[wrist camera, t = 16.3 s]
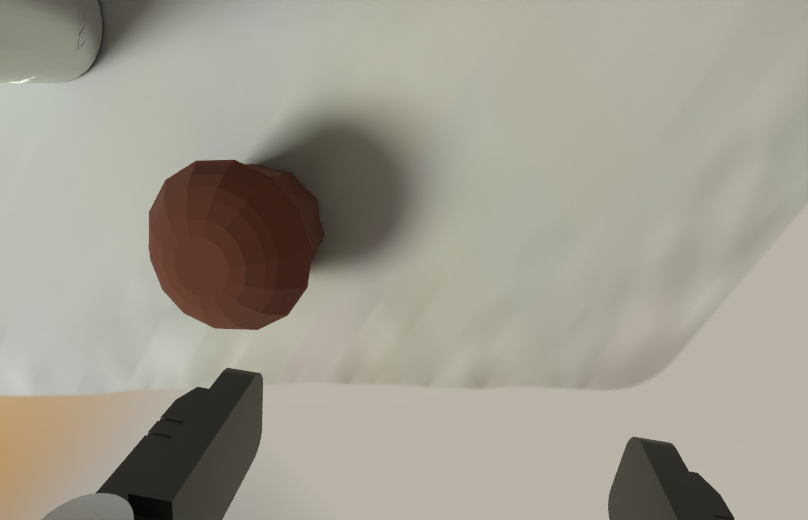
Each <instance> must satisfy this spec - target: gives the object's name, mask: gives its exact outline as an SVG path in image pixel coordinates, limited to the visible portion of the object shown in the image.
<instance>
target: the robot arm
mask: <svg viewBox="0 0 808 520" xmlns="http://www.w3.org/2000/svg"><path fill="white" fill-rule="evenodd" d="M101 39H102V17H101V12H100V6H99V3H98V0H0V83H53V82H66V81H70V80H72V79H75V78H77V77H79V76H80V75H82V74H83V73H84V72H86V71H87V70H88V69H89V67H90V66H91V65H92V63H93V62H94V61H95V58H96V56H97V54H98V52H99V49H100V44H101ZM262 398H263V378H262V375H261V374H260V373H255V372H249V371H243V370H237V369H231V368H226V369H225V370H224V371H223V372H222V373H221V375H220V376H219V377H218V378H217V380H216V381H215V382H214V384H213V385H212V386H211V387H210V389H206V388H201V387H196V388H195V389H193V390H191V391H190V392H188V393H187V394H185V395H183V396H182V397H180V398H178V399H177V400H175V401H174V402H173V404H172V405H171V406H170V407H169V408H168V410H167V411H166V412H165V413H164V414H163V415H162V417H161V419H160V421H157V422H156V424H155V425H154V426H153V427H152V428H151V429H150V431H149V433H148V435H147V436H144V438H143V439H142V440H141V441H140V442H139V444H138V445H137V446H136V447H135V448H134V449H133V451H132V452H131V453H130V454H129V455H128V456H127V457H126V459H125V460H124V461H123V462H122V463H121V464H120V466H119V467H118V468H117V469H116V470H115V472H114V473H113V474H112V475H111V476H110V477H109V478H108V480H107V481H106V482H105V483H104V484H103V485H102V487H101V488H100V489H99V490H98V491H97V492H96V493H95V494H89V495H85V496H81V497H78V498H75V499H72V500H70V501H68V502H66V503H64V504H62V505H61V506H59V507H57V508H55V509H54V510H53V511H51V512H50V513H48V514H47V515H46V516H45V517H44V518H43V519H42V520H222V519H223V517H224V515H225V513H226V511H227V509H228V507H229V506H230V504H231V502H232V500H233V498H234V496H235V494H236V492H237V490H238V488H239V486H240V485H241V483H242V481H243V479H244V477H245V475H246V473H247V471H248V470H249V467H250V465H251V464H252V462H253V460H254V458H255V456H256V453H257V450H258V447H259V443H260V439H261V432H262V401H263V399H262ZM608 511H609V519H610V520H734V517H733V515H732V514H731V512H730V510H729V509H728V507H727V505H726V504H725V502H724V501H723V499H722V497H721V495H720V494H719V493H718V492H717V491H716V490H715V489H714V488H713V487H712V486H711V485H710V484H708V483H707V482H706V481H705V480H704V479H703V478H702V477H701V476H700V475H699V474H698V473H694V472H689V471H688V469H687V467H686V465H685V464H684V462H683V460H682V458H681V457H680V455H679V453H678V451H677V450H676V448H675V447H674V445H673V444H671V443H668V442H662V441H656V440H650V439H644V438H638V437H632V438H631V439H630V440H629V441H628V443H627V445H626V448H625V451H624V453H623V456H622V459H621V462H620V465H619V467H618V470H617V473H616V476H615V479H614V481H613V485H612V487H611V490H610V494H609V503H608Z"/></svg>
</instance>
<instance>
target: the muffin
mask: <svg viewBox="0 0 808 520" xmlns="http://www.w3.org/2000/svg"><path fill="white" fill-rule="evenodd" d="M323 236H324V233H323V229H322V226H321V222H320V219H319V210H318V200H317V199H316V198H315V197H314V196H313V195H312V194H311V193H309V192H308V191H307V190H306V189H305V188H304V187H303V186H302V185H301V184H300V182H299V181H298V180H297V179H296V177H295V176H294V175H293V174H292V172H285V171H277V170H272V169H269V168H266V167H263V166H259V165H256V164H242V163H240V162H238V161H236V160H211V161H195V162H193V163H192V164H190V165H189V166H187V167H185V168H184V169H182V170H181V171H179V172H178V173H176V174H174V175H173V176H171V177H170V178H168V179H166V180H165V182H164V184H163V186H162V188H161V190H160V192H159V194H158V196H157V198H156V200H155V202H154V204H153V205H152V207H151V209H150V211H149V251H150V259H151V262H152V265H153V267H154V270H155V272H156V275H157V277H158V280H159V282H160V285H161V287H162V290H163V291H164V292H165V293H166V294H167V295H168V296H169V297H170V298H171V300H172V301H173V302H174V303H175V304H176V305H177V306H178V307H179V308H180V309H181V311H182V312H183V313H185V314H187V315H189V316H191V317H193V318H195V319H197V320H199V321H201V322H203V323H205V324H207V325H209V326H211V327H213V328H223V329H249V330H258V329H260V328H262V327H264V326H266V325H269V324H271V323H273V322H275V321H277V320H279V319H281V318H283V317H285V316H287V315H288V314H289V313H290V311H291V310H292V308H293V307H294V306H295V304H296V303H297V301H298V300H299V299H300V297H301V296H302V294H303V293H304V291H305V290H306V289H307V287H308V279H309V271H310V264H311V262H312V260H313V258H314V256H315V254H316V251H317V249H318V247H319V245H320V243H321V241H322V238H323Z"/></svg>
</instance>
